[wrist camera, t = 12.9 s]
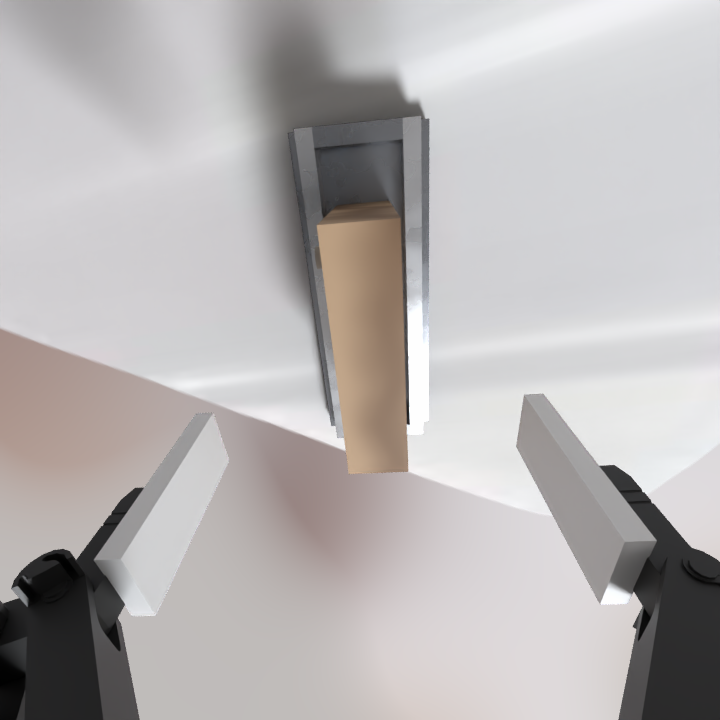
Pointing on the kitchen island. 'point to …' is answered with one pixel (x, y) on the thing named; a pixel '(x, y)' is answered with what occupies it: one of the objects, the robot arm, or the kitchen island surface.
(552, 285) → the kitchen island surface
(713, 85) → the kitchen island surface
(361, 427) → the door panel
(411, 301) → the door track
